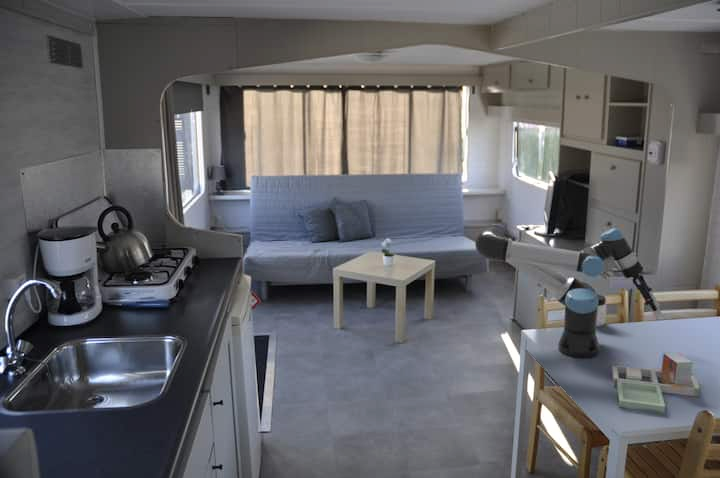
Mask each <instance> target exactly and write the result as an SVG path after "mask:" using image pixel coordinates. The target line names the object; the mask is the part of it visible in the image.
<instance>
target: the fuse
mask: <svg viewBox="0 0 720 478" xmlns="http://www.w3.org/2000/svg"><path fill="white" fill-rule="evenodd" d="M632 367H633V366H627V367H626V371H625V374H624V376H625V377H624V378H625V379H628V380H636V381H642V379H643V376H642V375H641V371H640V368H641V367H636V368H632Z"/></svg>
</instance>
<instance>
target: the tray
mask: <svg viewBox="0 0 720 478" xmlns="http://www.w3.org/2000/svg"><path fill="white" fill-rule="evenodd" d="M616 392H617V393H616V394H617V399H618V408H620V409H624V410H625V409H626V410H633V411H641V412H649V413H653V414H654V413H655V414H663V415H665V410H666V404H665V401H664V396H663V392H661V388H660V385H653V384H645V383H637V382H629V381H621V380H617V386H616Z"/></svg>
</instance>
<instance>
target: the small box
mask: <svg viewBox="0 0 720 478" xmlns="http://www.w3.org/2000/svg"><path fill="white" fill-rule="evenodd" d="M692 369H693V361H692V360H689V359H688V358H687V357H685V356H684V355H682V353H679V352H668V353H667V352H666V353H663V356H662V365H661V370H662V372H661V378H660V381H661V382H662V384H668V385H671V384H675V385H683V386H685V387H691V386H690V380H691V374H692V371H693V370H692Z"/></svg>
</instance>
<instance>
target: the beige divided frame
mask: <svg viewBox="0 0 720 478" xmlns="http://www.w3.org/2000/svg"><path fill="white" fill-rule="evenodd" d="M626 367H628V366H625V365H616V364H612V367H611V369H612V370H611V373H612V382H613V383H612V384H613V386H614V387H617V380H621V381H629V382H637V383H645V384H653V385H660V388H661V392H662V393H668V394H675V395H681V396H682V395H683V396H691V397H696V398H697V397H698V398H699V397H700V394H701V388H700V386H699V383H698V381H697V378H696V376H695V374H694V373H691V380H690V387H685V386H683V385H675V384H671V385H668V384H664V383H659V381H658V379H661V372H662V369H652V368H642V367H639V368H640V371H641V375H642V377H649V380H650V382H649V381H636V380H628V379H626V378H625V379H624V378H619V374H623V375H625V371H626ZM631 367H632V368H637V367H635V366H631Z"/></svg>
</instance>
